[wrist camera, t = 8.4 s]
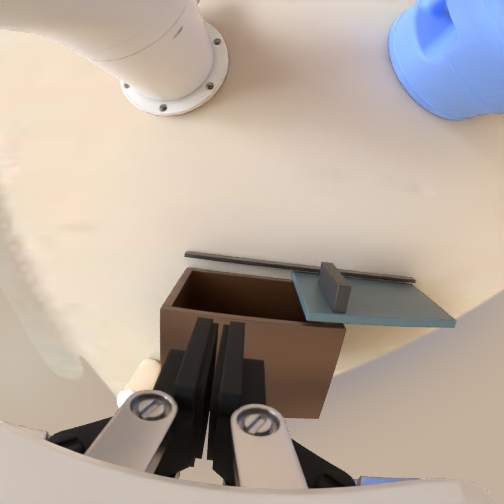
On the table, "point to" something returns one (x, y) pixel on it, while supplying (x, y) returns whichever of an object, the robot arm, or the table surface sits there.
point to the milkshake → (141, 379)
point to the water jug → (451, 56)
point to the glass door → (365, 301)
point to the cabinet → (262, 328)
